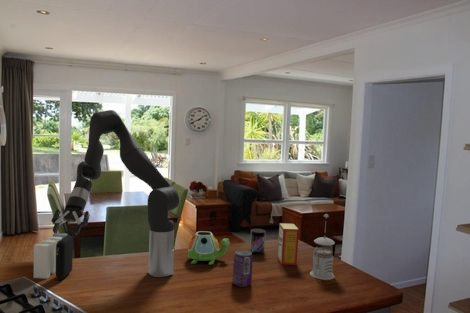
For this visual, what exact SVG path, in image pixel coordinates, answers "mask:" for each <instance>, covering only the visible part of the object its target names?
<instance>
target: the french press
mask: <svg viewBox="0 0 470 313" xmlns="http://www.w3.org/2000/svg"><path fill="white" fill-rule="evenodd" d="M323 217H324V218H329V217H330V216H329V214H328V213H325V214H324V215H323ZM326 226H327V222H325V225H324V232H326V231H327V230H326ZM313 242H314V243H315V244H316V245H320V246H323V247H325V246H326V247H328V246H329V247H330V246H334V245H335V243H336V242H335V241H334V240H333V239H331V238H329V237H327V236H323V237H317V238H316V239H314V240H313ZM333 254H334V252H333V251H332V250H331V249H330V250H329V249H327V248H322V247H319V248H318V246H316V247H314V250H313V253H312V262H313V263H312V270H311V271H310V272H309V275H310V276H311V277H313V278H315V279H318V280H324V281H329V280H333V279H335V275H334V273H333V267H334V266H333V265H334V255H333Z"/></svg>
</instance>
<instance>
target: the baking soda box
mask: <svg viewBox="0 0 470 313" xmlns="http://www.w3.org/2000/svg"><path fill="white" fill-rule="evenodd" d="M278 227H279V228H278V240H277V241H278V243H277V259H278V261H279V262H280V265H281V266H297V264H298V261H297V260H298V252H299V251H298V248H299V234H300V230H299V229H300V228H298V227H297V225H295V224H294V223H287V222H285V223H284V222H283V223H282V222H280V223H279V224H278Z"/></svg>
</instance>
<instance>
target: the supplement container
mask: <svg viewBox="0 0 470 313" xmlns="http://www.w3.org/2000/svg"><path fill="white" fill-rule="evenodd" d="M249 245H250V247H249V251H251V252H252V253H253V254H252V255H256V254H261V255H263V254H264V253H265V245H266V230H265V229H262V228H252V229H250V243H249Z"/></svg>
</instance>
